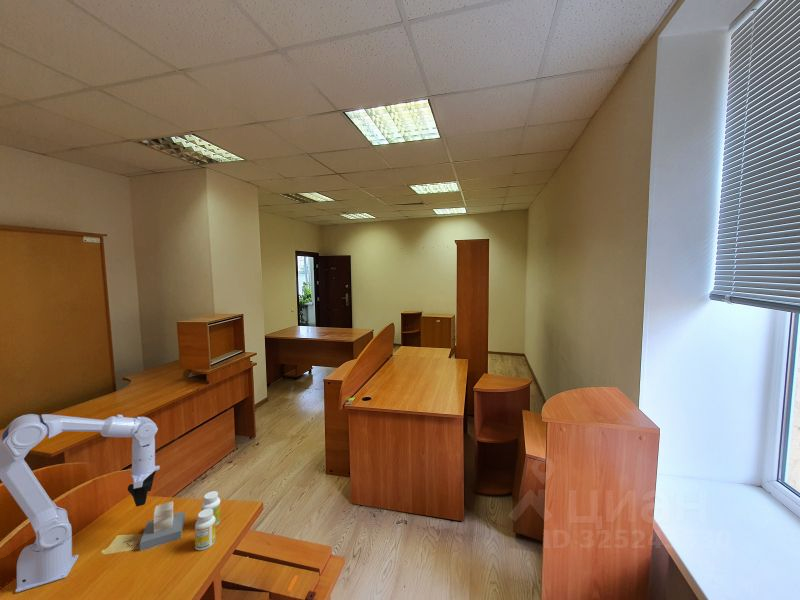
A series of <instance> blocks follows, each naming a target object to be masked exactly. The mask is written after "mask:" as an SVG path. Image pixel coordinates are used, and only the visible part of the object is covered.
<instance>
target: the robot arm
mask: <svg viewBox="0 0 800 600" xmlns="http://www.w3.org/2000/svg"><path fill="white" fill-rule="evenodd" d="M158 430H159V428H158V427H157V423H155V422H154V421H153V420H152V419H151V418H149V417H146V416H136V417H125V416H124V415H123V414H116V416H113V415H112V416H109V417H107V418H105V419H97V418H87V417H79V416H71V415H70V416H67V415H58V414H49V413H46V414H45V413H43V414H41V415H38V414H34V413H29V414H23V415H21V416H19V417H16V418H15V419H13V420H12V421H11V422H10V423H9V424H8V425H7V426H6V428H5V429H4V430H3V431H2V432H1V435H0V480H1V482H2V484H3V485H4V486H5V487H6V489H7V490H8V492H9V493H10V495H11V497H12V498H13V499H14V500H15V502H16V503H17V505H18V506H19V507H20V509H21V510H22V512H23V513H24V514H25V516H26V517H27V519H28V520H29V522H30V524H31V527H32V529H33V531H34V533H35V540H34V543H32V544H29V545H26V546H25V547H24V548H23V549H22V550H21V552H20V554H19V556H18V559H17V562H16V589H15V591H14V592H15V593H19V592H23V591H26V590H29V589H33V588H37V587H39V586H42V585H46V584H49V583H52V582H55V581H58V580H62V579H65V578H67V577H68V575H69V573H70V572H71V570H72V569H73V566H75V563H76V562H77V560H78V558H79V556H80V555H79V554H75V555H73V532H72V531H73V530H72V524H71V523H70V521H69V518H68V511H67V509H65V508H62V507H59V506H57V504H56V503H55V502H54V501H52V498H50V496H49V495H48V493H47V492H46V490H45V489H44V487H43V486H42V484H41V483H40V482H39V480H38V478H37V477H36V476H35V474H34V472H33V471H32V469H31V468H30V466H29V464H28V463H27V461H25V457H26V456H27V455H28V454H29V452H30V451H31V450H32V449H33V448H34V447H36V446H37V445H38V444H40V442H41V441H43V440H44V438H45V437H46V436H47V438H48V439H51V438H53V437H55V436H57V435H58V434H61V433H63V432H78V433H79V432H81V433H83V432H84V433H85V432H86V433H90V432H91V433H93V432H94V433H100V435H101V436H102V437H105V438H132V444H131V473H130V475H131V478H132V480H133V483H132V484H129V485H128V487H127V492H129V493H130V495H131V496H132V499H133V501H134V504H135V506H136V507H140V506H145V504H146V502H147V497H148V493H149V492H151V490H152V488H153V483H154V479H155V474H156V473H157V471H159V470H160V468H161V467H160V465H156V438H155V436H156V434H157V432H158Z"/></svg>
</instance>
